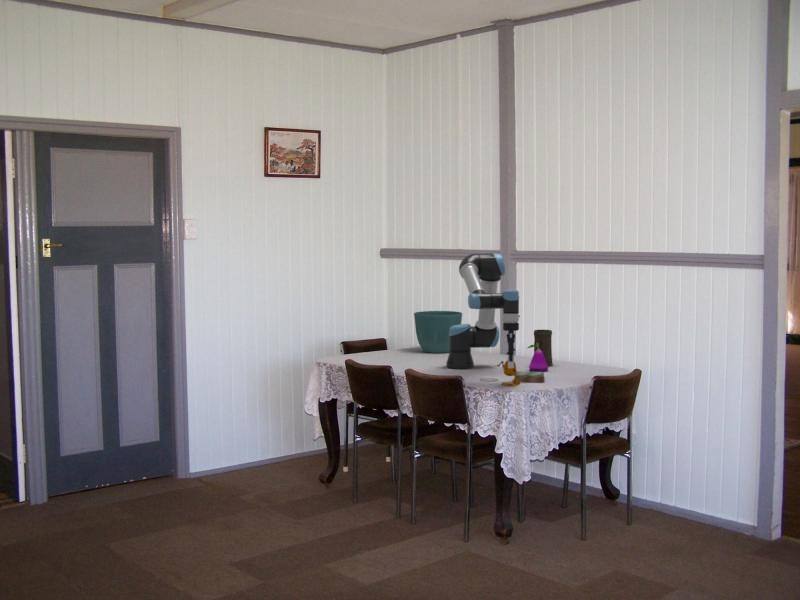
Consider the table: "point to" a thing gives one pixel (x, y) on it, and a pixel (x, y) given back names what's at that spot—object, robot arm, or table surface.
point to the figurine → (510, 374)
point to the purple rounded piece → (538, 360)
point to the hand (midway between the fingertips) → (511, 366)
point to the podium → (530, 377)
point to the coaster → (488, 379)
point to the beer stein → (544, 344)
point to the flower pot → (435, 329)
